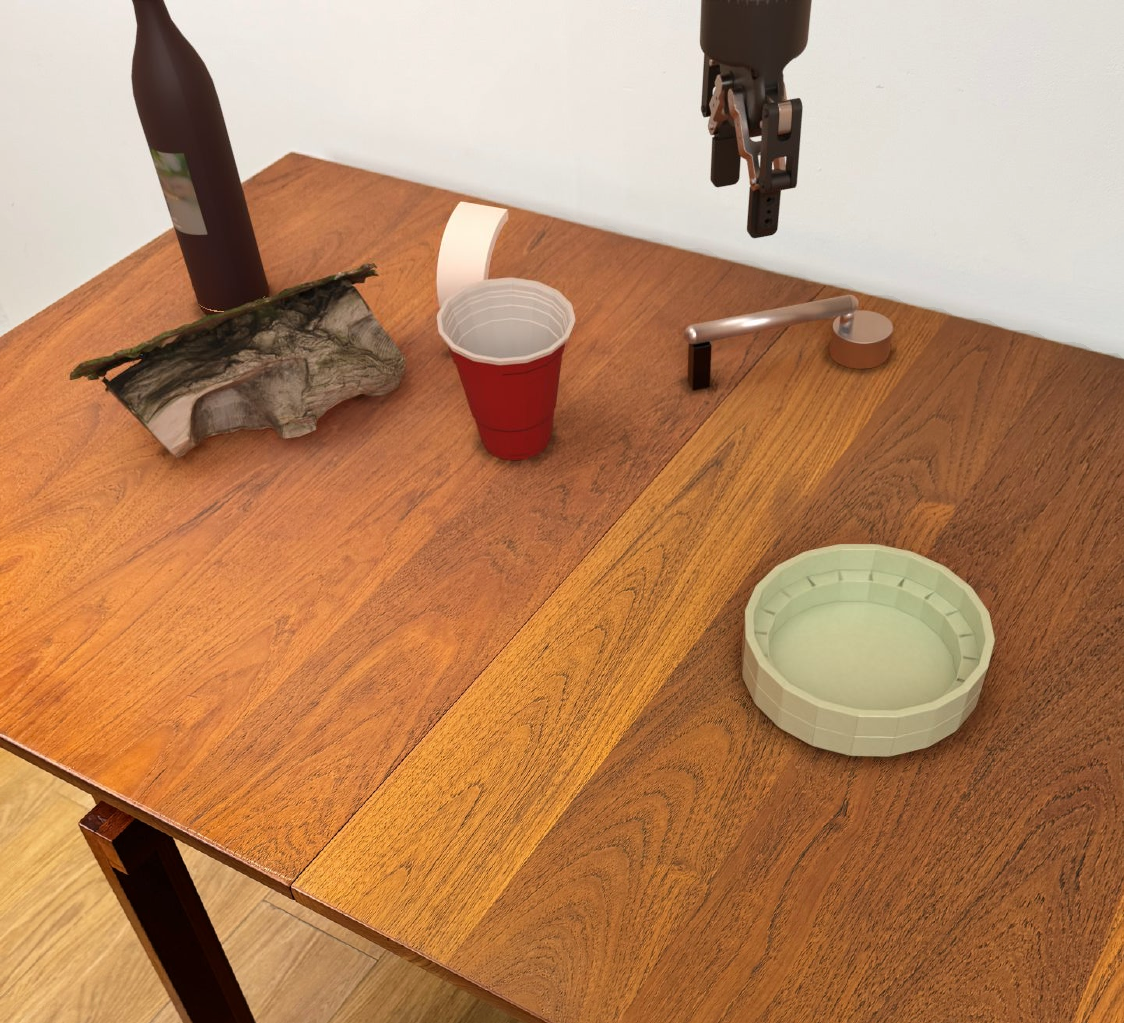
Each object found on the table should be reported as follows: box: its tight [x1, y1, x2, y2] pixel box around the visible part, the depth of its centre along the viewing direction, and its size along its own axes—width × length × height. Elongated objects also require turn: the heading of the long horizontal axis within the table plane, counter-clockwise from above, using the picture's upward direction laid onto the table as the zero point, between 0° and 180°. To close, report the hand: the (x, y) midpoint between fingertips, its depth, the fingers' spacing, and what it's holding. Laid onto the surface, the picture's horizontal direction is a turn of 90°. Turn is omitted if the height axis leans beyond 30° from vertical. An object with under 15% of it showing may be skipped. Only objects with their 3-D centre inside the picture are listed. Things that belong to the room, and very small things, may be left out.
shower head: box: [683, 294, 894, 391], centre depth 105 cm, size 19×5×6 cm, turn 104°
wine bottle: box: [130, 0, 270, 316], centre depth 108 cm, size 7×7×30 cm
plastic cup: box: [436, 277, 577, 461], centre depth 98 cm, size 11×11×12 cm
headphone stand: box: [436, 201, 509, 310], centre depth 108 cm, size 5×6×12 cm
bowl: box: [741, 543, 996, 758], centre depth 82 cm, size 16×16×4 cm
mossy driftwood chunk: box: [69, 262, 407, 460], centre depth 102 cm, size 28×13×15 cm
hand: (742, 208), depth 94 cm, fingers open, 8 cm apart
